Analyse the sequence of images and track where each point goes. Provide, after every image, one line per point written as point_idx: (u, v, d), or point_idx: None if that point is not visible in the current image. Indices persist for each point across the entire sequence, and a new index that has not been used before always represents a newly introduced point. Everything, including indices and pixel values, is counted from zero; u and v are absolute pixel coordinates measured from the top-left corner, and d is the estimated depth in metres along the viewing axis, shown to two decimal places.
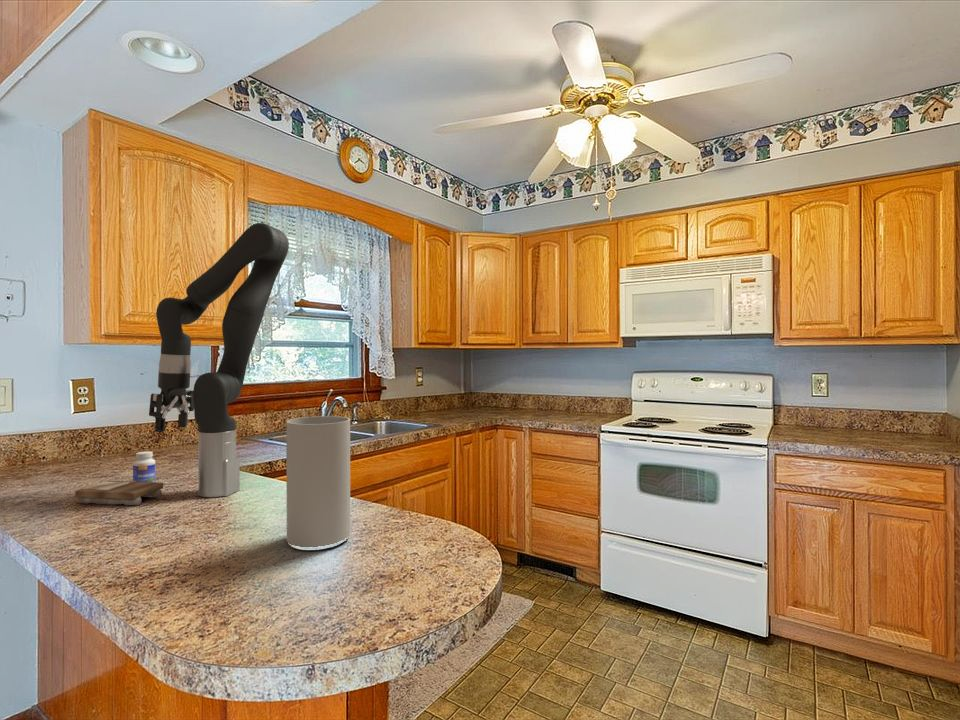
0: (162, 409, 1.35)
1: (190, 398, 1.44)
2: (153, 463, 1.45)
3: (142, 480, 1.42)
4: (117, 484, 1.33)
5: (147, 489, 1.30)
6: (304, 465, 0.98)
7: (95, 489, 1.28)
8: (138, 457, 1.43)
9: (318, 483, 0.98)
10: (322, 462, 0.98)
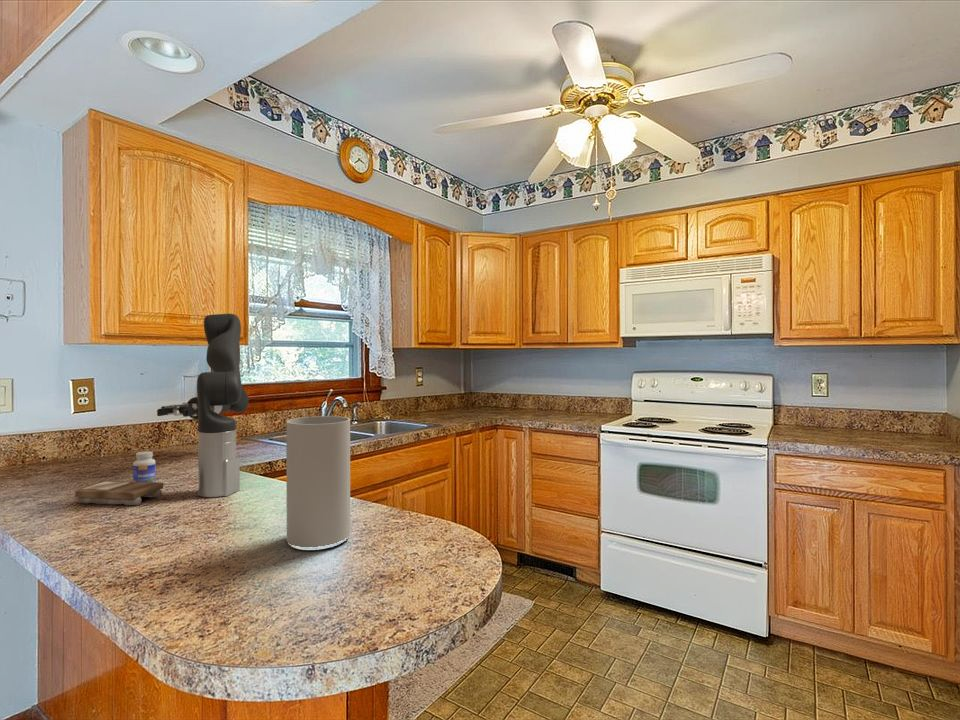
0: (173, 410, 1.62)
1: None
2: (153, 463, 1.45)
3: (142, 480, 1.42)
4: (117, 484, 1.33)
5: (147, 489, 1.30)
6: (304, 465, 0.98)
7: (95, 489, 1.28)
8: (138, 457, 1.43)
9: (318, 483, 0.98)
10: (322, 462, 0.98)
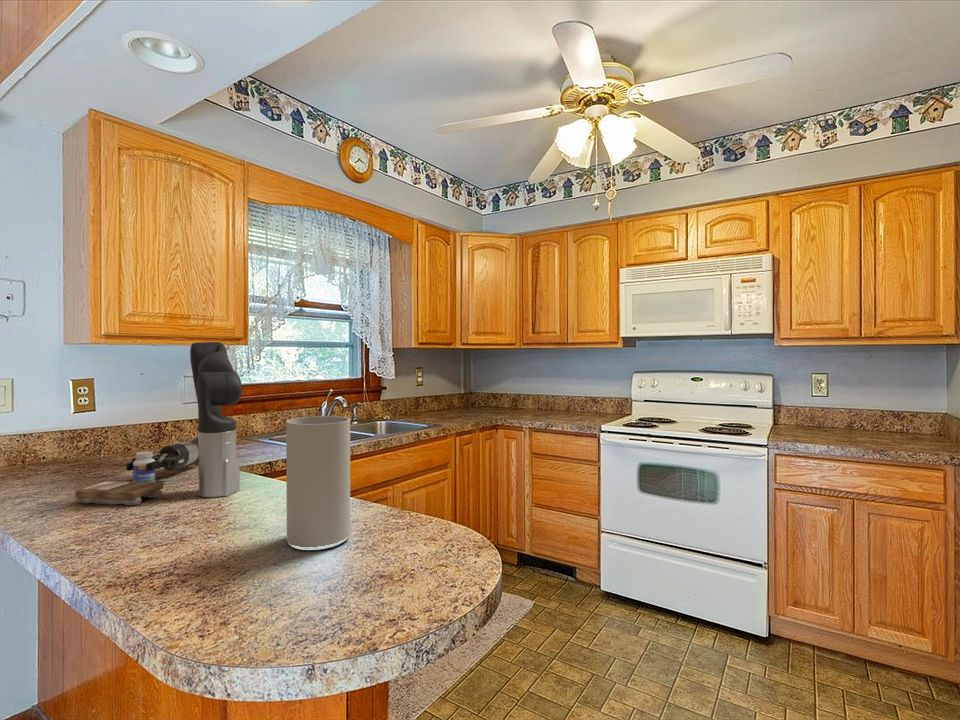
0: None
1: None
2: None
3: (142, 480, 1.42)
4: (117, 484, 1.33)
5: (147, 489, 1.30)
6: (304, 465, 0.98)
7: (95, 489, 1.28)
8: (138, 457, 1.43)
9: (318, 483, 0.98)
10: (322, 462, 0.98)
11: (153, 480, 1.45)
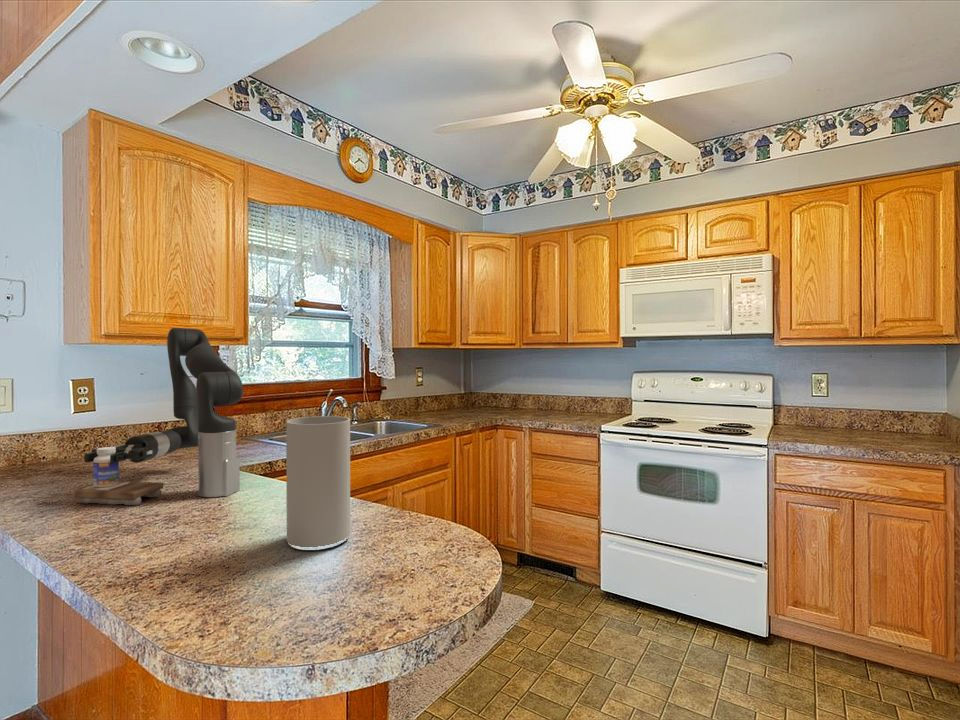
0: None
1: None
2: None
3: (103, 478, 1.29)
4: (117, 484, 1.33)
5: (147, 489, 1.30)
6: (304, 465, 0.98)
7: (95, 489, 1.28)
8: (99, 453, 1.30)
9: (318, 483, 0.98)
10: (322, 462, 0.98)
11: (116, 478, 1.32)
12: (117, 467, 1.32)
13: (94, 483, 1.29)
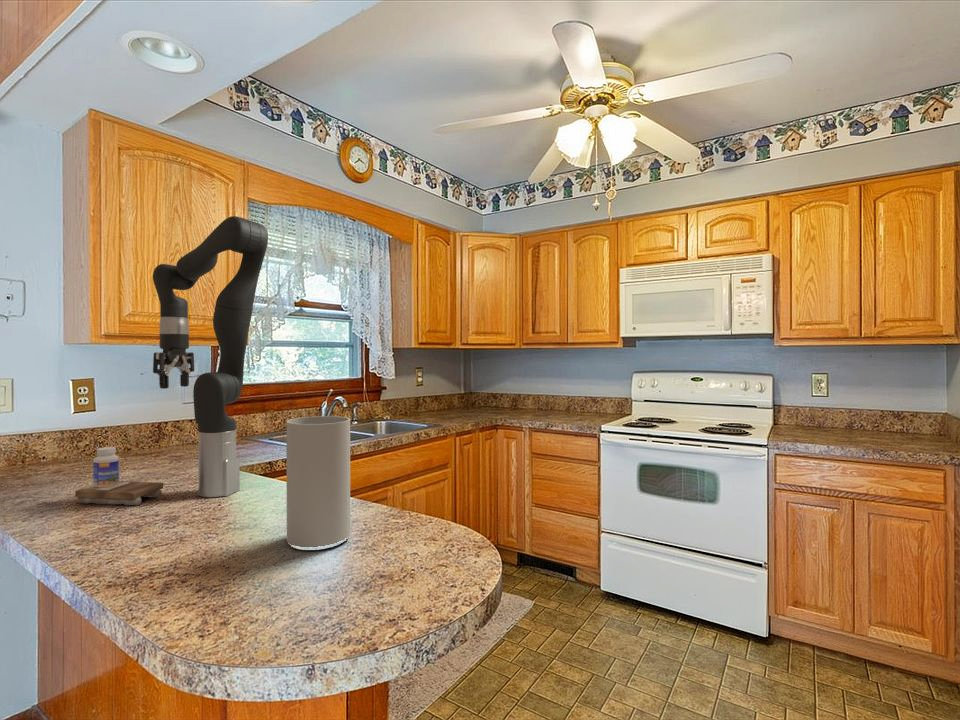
0: (165, 367, 1.46)
1: (190, 359, 1.55)
2: (116, 460, 1.32)
3: (103, 478, 1.29)
4: (117, 484, 1.33)
5: (147, 489, 1.30)
6: (304, 465, 0.98)
7: (95, 489, 1.28)
8: (99, 453, 1.30)
9: (318, 483, 0.98)
10: (322, 462, 0.98)
11: (116, 478, 1.32)
12: (117, 467, 1.32)
13: (94, 483, 1.29)
